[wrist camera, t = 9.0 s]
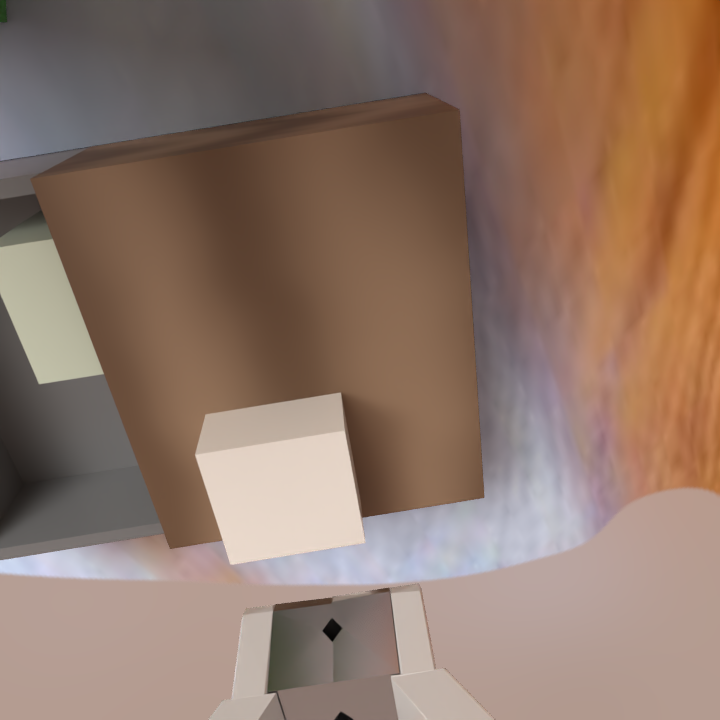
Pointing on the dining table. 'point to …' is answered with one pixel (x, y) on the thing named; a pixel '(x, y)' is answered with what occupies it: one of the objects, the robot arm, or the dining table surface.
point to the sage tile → (44, 304)
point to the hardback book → (3, 11)
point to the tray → (59, 432)
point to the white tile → (281, 478)
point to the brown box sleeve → (282, 292)
